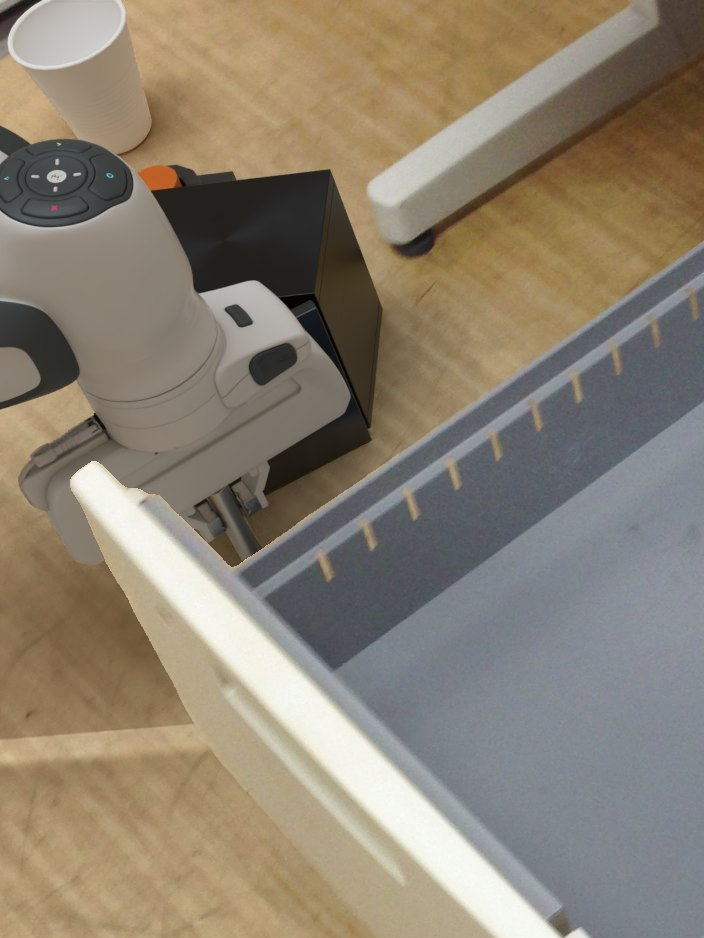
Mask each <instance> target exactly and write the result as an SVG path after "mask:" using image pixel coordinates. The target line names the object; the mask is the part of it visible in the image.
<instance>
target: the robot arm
mask: <svg viewBox="0 0 704 938" xmlns="http://www.w3.org/2000/svg"><path fill="white" fill-rule="evenodd" d="M137 173H138V172H137V171H136V170H135V169H134V168H133V167H132V166H131V165H130V164H129V163H127V161H126V160H125V159H123V158H122V157H121V156H119V154H118V155H116V154H115V153H113V152H112V151H110V150H108V149H106V148H105V147H103V146H100V145H98V144H95V143H92V142H89V141H84V140H79V139H78V138H54V139H47V140H42V141H37V142H35V143H30V142H29V141H27V140H26V139H25V138H23V137H22V136H20V135H19V134H17V133H16V132H14V131H12V130H10V129H9V128H6V127H5V126H3V125H0V410H4V409H8V408H11V407H14V406H17V405H20V404H23V403H27V402H30V401H33V400H36V399H39V398H41V397H42V398H43V397H44V396H47V395H51V394H53V393H55V392H58V391H60V390H62V389H64V388H66V387H68V386H70V385H72V384H73V383H75V382H76V383H77V385H78V387H79V388H80V390H81V393H82V394H83V395H84V397H85V399H86V401H87V402H88V404H89V406H90V408H91V409H92V411H93V412H94V413H93V415H91V416H90V417H88V418H86V419H84V420H83V421H81V422H79V423H78V424H76V425H74V426H72V427H71V428H70V429H68V430H67V431H66V432H64V433H63V434H62V435H60V437H57V438H56V439H54V440H52V441H50V442H46V443H44V444H42V445H40V446H39V447H37V448H36V449H34V450H33V451H31V453H30V454H29V457H30V460H28V462H27V463H26V464H25V465H24V466H23V467H22V469H21V470H20V473H19V475H18V477H17V481H18V487H19V490H20V492H21V493H22V495H24V497H25V498H26V500H27V502H28V504H29V505H31V506H32V507H33V508H35V509H37V510H40V511H42V512H45V515H46V517H47V519H48V521H49V522H50V524H51V527H52V528H53V530H54V532H55V533H56V535H57V536H58V538H59V539H60V541H61V542H62V544H63V545H64V547H65V549H66V550H67V552H69V554H70V555H71V557H72V559H73V560H75V562H76V563H78V564H81V565H82V564H83V565H87V566H97V565H99V564H101V563H103V562H105V561H106V560H105V559H104V556H103V554H102V552H101V550H100V547H99V545H98V543H97V541H96V539H95V537H94V535H93V532H92V530H91V527H90V525H89V523H88V520H87V518H86V515H85V513H84V511H83V509H82V507H81V505H80V503H79V502H78V500H77V499H76V497H75V495H74V494H73V492H72V491H71V488H70V479H71V477H72V476H73V475H74V474H75V473H76V472H77V471H78V470H79V469H81V468H82V467H84V466H85V465H87V464H88V463H90V462H91V461H97V462H99V463H100V464H102V465H103V466H104V467H105V468H106V469H107V470H108V471H109V472H110V473H111V474H112V475H113V476H114V477H115V478H116V479H117V480H118V481H119V482H120V483H121V484H122V485H124V486H125V487H127V488H138V489H141V490H143V491H144V492H146V493H148V494H156V495H160V496H161V497H162V498H163V499H164V500H165V501H166V502H167V503H168V504H169V505H170V507H171V508H172V509H173V510H174V511H175V512H176V513H177V514H179V516H181V517H182V518H183V519H184V520H185V521H186V522H187V523H188V524H189V525H190V526H191V527H192V528H191V529H194V530H197V531H198V533H199V534H200V535H201V537H202V538H203V539H204V540H205V542H206V543H209V544H210V543H211V542H212V541H214V540H215V539H216V538H218V537H220V536H222V535H223V534H225V533H226V529H225V527H224V526H223V523H222V521H221V519H220V518H219V516H218V515H217V514H216V513H215V512H214V511H213V509H212V507H211V506H210V505H209V503H208V502H205V503H204V504H202V505H200V506H199V507H197V508H196V507H194V505H196V504H197V503H199V502H201V501H202V500H204V499H206V498H207V497H209V496H210V495H212V494H214V493H215V492H217V491H219V490H220V489H222V488H223V487H225V486H227V485H228V484H230V483H232V482H233V481H235V480H237V479H238V478H240V477H241V476H242V477H241V481H239V482H238V483H236V484H235V485H233V486H232V487H231V488H232V490H233V492H234V493H235V495H236V496H237V497H236V498H237V499H238V501H239V503H240V504H241V506H242V507H241V508H243V510H245V512H246V513H247V515H248V517H253V516H254V515H255V514H257V513H258V512H260V511H263V509H266V507H269V506H270V504H269V502H268V499H267V497H266V495H264V493H263V490H264V488H265V484H266V480H267V477H268V473H269V469H270V466H269V464H268V462H267V461H268V460H269V459H271V458H272V457H274V456H276V455H277V454H279V453H281V452H282V451H284V450H285V449H287V448H289V447H290V446H292V445H294V444H295V443H297V442H299V441H300V440H302V439H303V438H305V437H307V436H308V435H310V434H312V433H313V432H315V431H317V430H318V429H320V428H321V427H323V426H325V425H326V424H328V423H330V422H331V421H333V420H335V419H336V418H338V417H340V416H341V415H342V414H344V413H345V411H346V409H347V406H348V404H349V401H350V397H351V396H350V392H349V389H348V387H347V385H346V383H345V381H344V379H343V377H342V376H341V374H340V372H339V371H338V369H337V367H336V366H335V365H334V363H333V362H332V360H331V359H330V358H329V357H328V355H327V354H326V353H325V352H324V351H323V350H322V348H321V347H320V346H319V345H318V344H317V343H316V341H315V340H314V339H313V338H312V337H311V336H310V335H309V334H308V333H307V332H306V330H305V329H304V328H303V327H302V326H301V324H300V323H299V321H298V320H297V319H296V317H295V316H294V315H293V313H292V312H291V311H290V310H289V309H288V307H287V306H286V305H285V304H284V303H283V302H282V301H281V300H280V299H279V298H278V297H277V296H276V295H275V294H274V293H272V292H271V291H270V290H269V289H268V288H267V287H265V286H264V285H263V284H261V283H260V282H258V281H246V282H242V283H239V284H235V285H232V286H228V287H224V288H220V289H216V290H212V291H208V292H204V293H199V294H198V293H197V292H196V291H195V289H194V287H193V274H192V270H191V266H190V263H189V260H188V258H187V256H186V254H185V252H184V250H183V248H182V246H181V244H180V242H179V240H178V238H177V236H176V234H175V232H174V230H173V228H172V226H171V224H170V222H169V221H168V219H167V217H166V215H165V213H164V212H163V210H162V208H161V207H160V205H159V203H158V202H157V200H156V199H155V197H154V196H153V194H152V192H151V191H150V189H149V188H148V187H147V185H146V184H145V182H144V181H143V180H142V178H141V177H140V176H139V175H138V174H137Z"/></svg>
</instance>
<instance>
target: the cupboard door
mask: <svg viewBox="0 0 704 938" xmlns="http://www.w3.org/2000/svg"><path fill="white" fill-rule="evenodd" d="M290 311H291V312H292V313H293V315H294V316H295V317H296V319H297V320H298V321H299V323H300V324H301V326H302V327H303V328H304V329H305V330H306V332H307V333H308V334H309V335H310V336H311V337H312V338H313V339H314V340H315V341H316V343H317V344H318V345H319V346H320V347H321V348H322V350H323V351H324V352H325V353H326V354H327V355H328V357H329V358H330V359H331V360H332V362H333V363H334V365H335V366H336V367H337V369H338V371H339V372H340V374H341V376H342V377H343V379H344V381H345V383H346V385H347V387H348V389H349V392H350V396H351V397H350V401H349V404H348V406H347V409H346V411H345V413H344V414H342V415H341V416H340V417H338V418H336V419H335V420H333V421H331V422H330V423H328V424H326V425H325V426H323V427H321V428H320V429H318V430H317V431H315V432H313V433H312V434H310V435H308V436H307V437H305V438H303V439H302V440H300V441H299V442H297V443H295V444H294V445H292V446H290V447H289V448H287V449H285V450H284V451H282V452H281V453H279V454H277V455H276V456H274V457H272V458H271V459H269V460H268V461H267V462H268V464H269V466H270V469H269V473H268V477H267V480H266V484H265V488H264V490H263V493H264V495H265V496H266V495H268V494H270V493H272V492H274V491H276V490H279V488H282V487H284V486H285V485H286V486H287V484H289V483H292V482H293V481H296V480H297V479H299V478H301V477H304V476H305V475H307V474H308V473H311V472H312V471H314V470H316V469H318V468H320V467H322V466H324V465H326V464H328V463H330V462H332V461H333V460H335V459H338V458H339V457H341V456H344V455H345V454H347V453H350V452H351V451H353V450H355V449H357V448H359V447H361V446H362V445H365V444H366V443H368V442H370V441H372V439H373V438H372V436H371V433H370V431H369V428H367V426H366V424H365V421H364V419H363V417H362V414H361V412H360V409H359V407H358V405H357V402H356V400H355V398H354V395H353V393H352V390H351V388H350V386H349V383H348V381H347V379H346V376H345V374H344V371H343V369H342V367H341V364H340V362H339V359H338V357H337V355H336V352H335V350H334V348H333V345H332V343H331V340H330V338H329V336H328V333H327V331H326V329H325V326H324V324H323V321H322V319H321V317H320V314H319V312H318V309H317V307H316V306H315V304H314V303H313V301H312V300H309V301H307V302H305V303H303V304H301V305H299V306H297V307H295V308H293V309H291V310H290ZM241 477H242V476H241ZM241 477H240V478H238V479H237V480H235V481H233V482H232V483H230V484H228V485H227V486H225V487H223V488H222V489H220V490H219V491H217V492H215V493H214V494H212V495H210V496H209V497H207V498H206V499H204V500H202V501H201V502H199V503H197V504H196V505H194V507H196V508H197V507H199V506H200V505H202V504H204V503H205V502H208V503H209V505H210V506H211V507H212V509H213V511H214V512H215V513H216V514H217V515H218V516H219V518H220V519H221V521H222V523H223V526H224V527H225V529H226V532H225V534H226V536H227V537H228V539H229V542H231V545H232V546H233V548H234V550H235V551H236V553H237V555H238V557H239V559H240V561H241V562H242V561H244V560H245V559H247V558H248V557H250V556H252V555H253V554H255V553H256V552H258V551H259V550H261V549H263V547H262V545H261V543H260V542H259V539H258V538H257V536H256V534H255V532H254V530H253V528H252V527H251V524H250V523H249V521H248V520H247V517H246V516H245V514H244V512H243V510H242V508H243V507H242V506H241V504H240V503H239V501H238V499H237V498H236V497H237V496H236V495H235V493H234V492H233V490H232V488H231V487H232V486H233V485H235V484H236V483H238V482H239V481H241Z"/></svg>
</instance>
